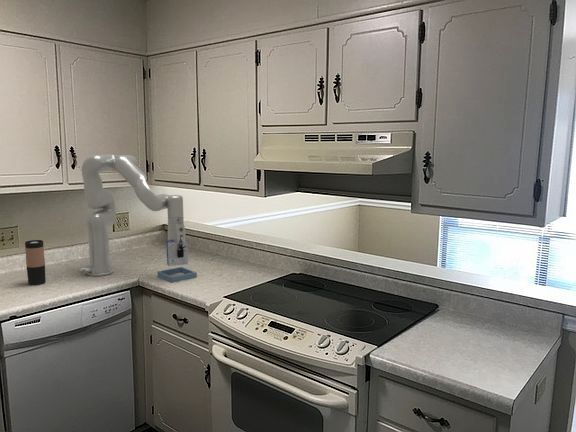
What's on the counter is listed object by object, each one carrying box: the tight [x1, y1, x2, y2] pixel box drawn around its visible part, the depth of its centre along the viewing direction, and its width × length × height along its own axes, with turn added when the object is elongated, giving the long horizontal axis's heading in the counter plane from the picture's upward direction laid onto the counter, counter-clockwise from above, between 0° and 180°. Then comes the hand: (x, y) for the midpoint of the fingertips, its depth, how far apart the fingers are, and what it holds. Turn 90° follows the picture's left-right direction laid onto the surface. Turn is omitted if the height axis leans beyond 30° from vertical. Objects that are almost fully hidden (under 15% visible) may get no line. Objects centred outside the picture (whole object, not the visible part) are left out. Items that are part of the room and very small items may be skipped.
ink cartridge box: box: [165, 239, 189, 267], centre depth 231 cm, size 10×6×14 cm, turn 115°
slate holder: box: [156, 266, 198, 283], centre depth 233 cm, size 14×14×2 cm
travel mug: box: [24, 239, 46, 286], centre depth 218 cm, size 8×8×20 cm
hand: (176, 255), depth 232 cm, fingers closed on ink cartridge box, 6 cm apart
